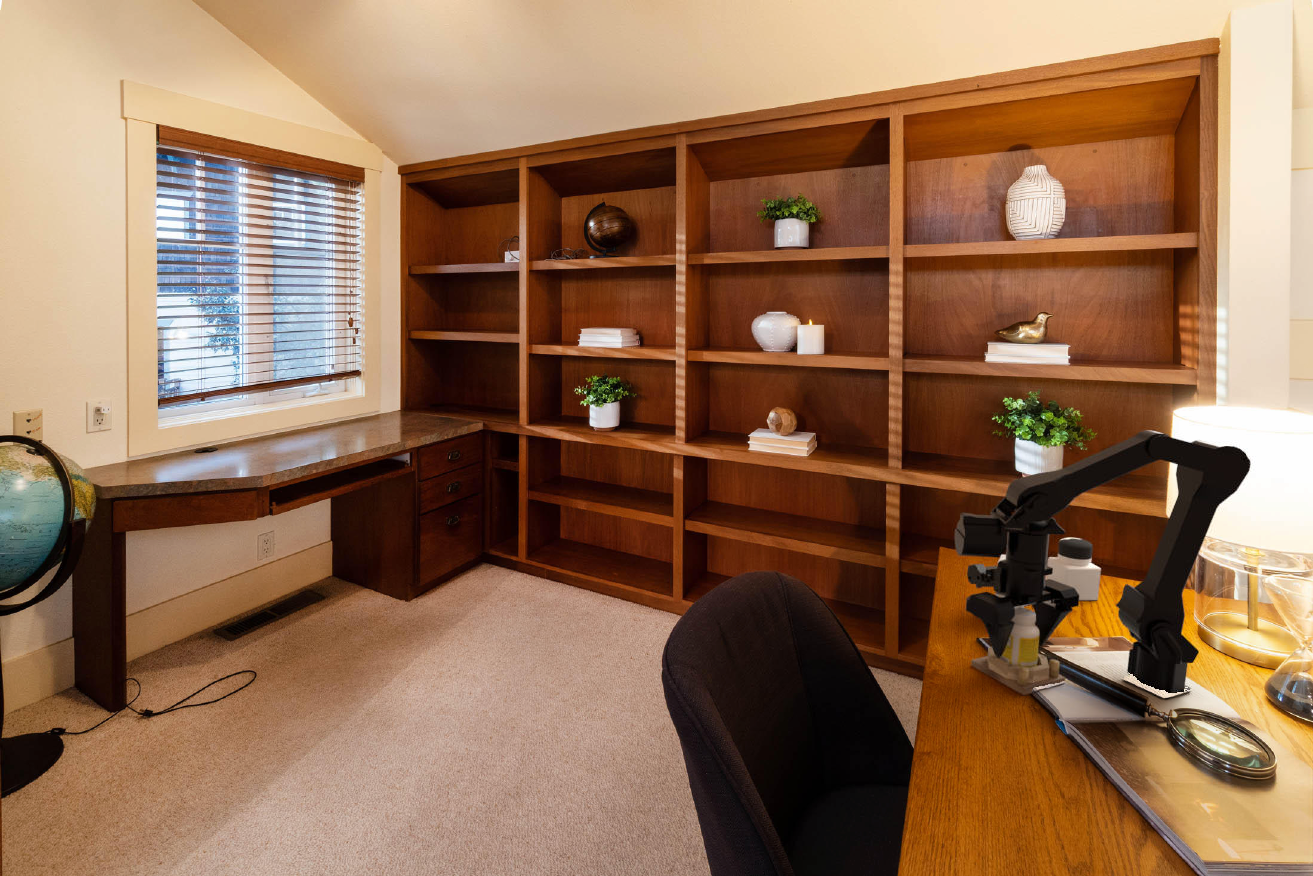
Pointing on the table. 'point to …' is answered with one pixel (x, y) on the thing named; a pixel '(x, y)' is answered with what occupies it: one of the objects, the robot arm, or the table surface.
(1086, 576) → the medicine bottle
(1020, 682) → the beige octagonal holder
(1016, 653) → the supplement bottle
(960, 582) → the table surface
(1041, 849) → the table surface
